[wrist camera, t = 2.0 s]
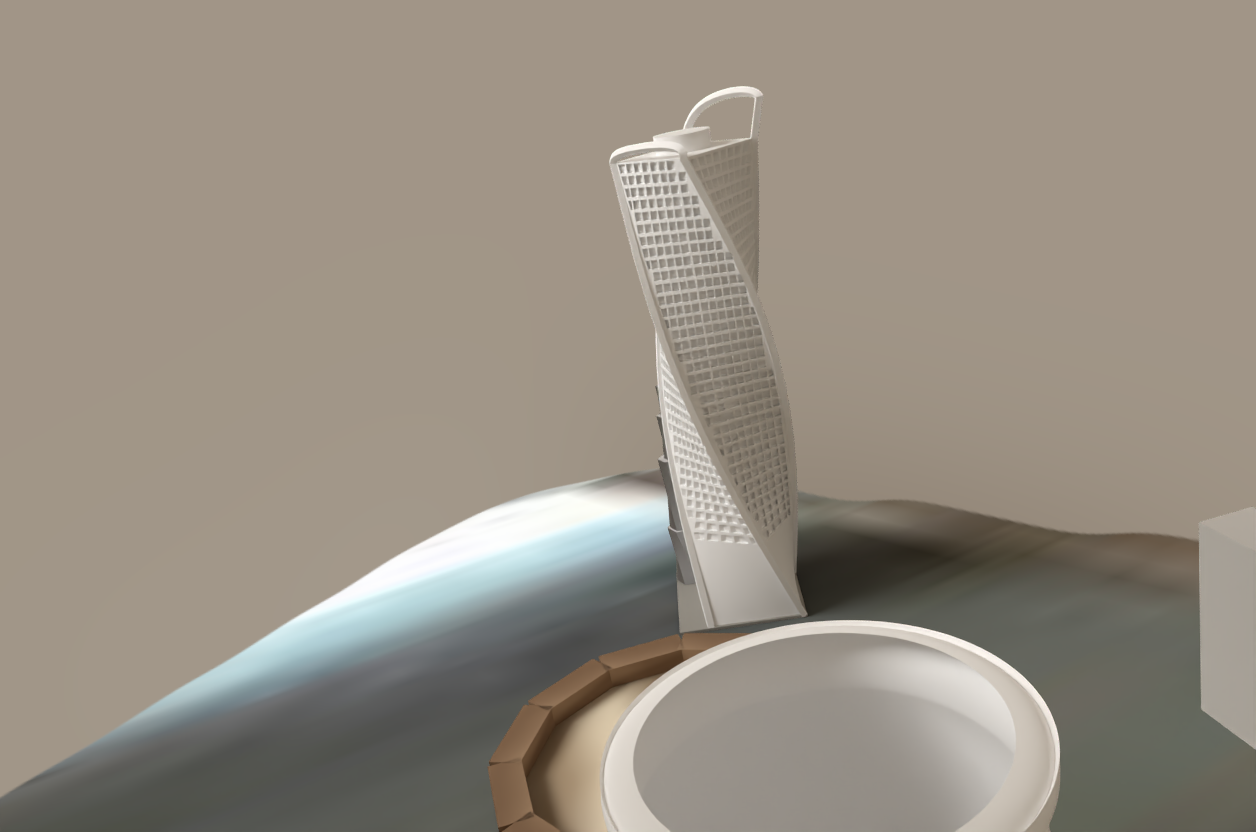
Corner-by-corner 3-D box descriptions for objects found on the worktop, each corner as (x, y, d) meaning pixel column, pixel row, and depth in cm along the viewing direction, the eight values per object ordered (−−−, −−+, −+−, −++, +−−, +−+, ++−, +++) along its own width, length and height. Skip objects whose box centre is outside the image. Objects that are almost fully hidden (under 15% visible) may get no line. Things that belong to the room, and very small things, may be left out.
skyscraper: (815, 558, 65) (752, 79, 56) (838, 627, 57) (768, 86, 48) (677, 579, 66) (592, 108, 57) (681, 650, 58) (584, 120, 49)
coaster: (530, 988, 38) (518, 944, 38) (483, 724, 54) (474, 691, 54) (965, 845, 41) (961, 802, 40) (799, 634, 57) (794, 601, 56)
